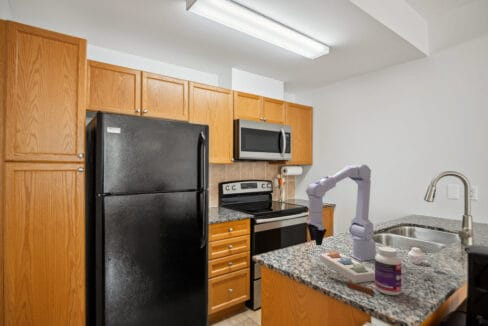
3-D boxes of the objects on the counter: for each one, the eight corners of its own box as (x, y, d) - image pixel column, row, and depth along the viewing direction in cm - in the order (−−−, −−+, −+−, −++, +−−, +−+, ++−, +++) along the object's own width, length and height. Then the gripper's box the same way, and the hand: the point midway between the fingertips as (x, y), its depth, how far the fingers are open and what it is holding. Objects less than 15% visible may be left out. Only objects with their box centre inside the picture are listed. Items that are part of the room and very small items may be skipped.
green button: (359, 269, 103) (359, 263, 103) (367, 274, 98) (367, 267, 98) (350, 270, 101) (350, 264, 101) (358, 275, 97) (358, 269, 97)
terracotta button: (335, 256, 118) (335, 250, 118) (341, 259, 114) (341, 254, 114) (327, 257, 117) (327, 251, 117) (333, 260, 113) (333, 254, 113)
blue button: (347, 262, 110) (347, 256, 110) (353, 266, 106) (353, 260, 106) (338, 263, 109) (338, 257, 109) (344, 267, 105) (344, 261, 105)
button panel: (338, 258, 120) (338, 252, 120) (377, 280, 97) (377, 272, 97) (319, 260, 118) (319, 254, 118) (355, 283, 95) (355, 275, 95)
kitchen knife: (374, 295, 86) (374, 289, 86) (373, 296, 85) (373, 290, 85) (330, 280, 97) (330, 275, 97) (328, 281, 96) (328, 276, 96)
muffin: (406, 262, 115) (406, 247, 115) (409, 259, 119) (409, 244, 119) (423, 266, 110) (423, 250, 110) (426, 263, 115) (425, 247, 115)
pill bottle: (401, 299, 83) (401, 254, 83) (373, 292, 87) (373, 250, 88) (401, 289, 90) (401, 247, 90) (376, 283, 94) (375, 244, 95)
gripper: (302, 208, 119) (302, 237, 119) (311, 214, 105) (311, 247, 104) (317, 208, 119) (317, 237, 119) (328, 214, 105) (328, 247, 105)
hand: (315, 242), depth 112 cm, fingers open, 7 cm apart
